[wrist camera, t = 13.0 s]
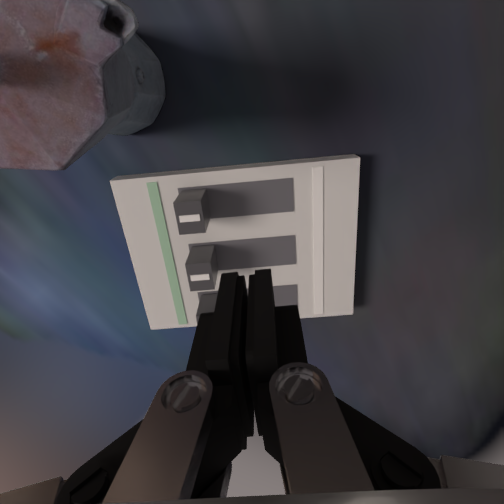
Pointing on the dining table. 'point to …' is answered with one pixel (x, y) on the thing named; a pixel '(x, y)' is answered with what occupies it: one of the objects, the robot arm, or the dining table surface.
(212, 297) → the breaker
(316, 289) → the panel
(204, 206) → the block
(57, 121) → the moka pot
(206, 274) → the block
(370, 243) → the dining table surface
